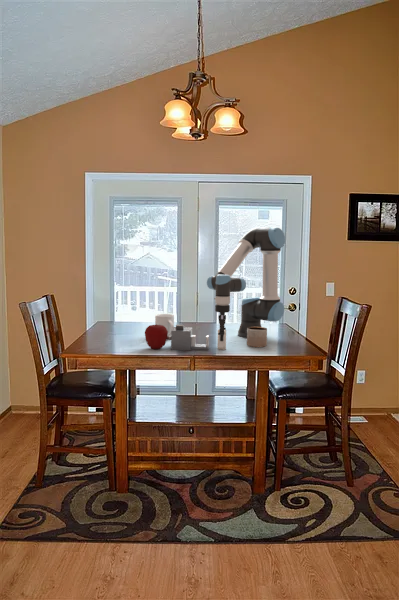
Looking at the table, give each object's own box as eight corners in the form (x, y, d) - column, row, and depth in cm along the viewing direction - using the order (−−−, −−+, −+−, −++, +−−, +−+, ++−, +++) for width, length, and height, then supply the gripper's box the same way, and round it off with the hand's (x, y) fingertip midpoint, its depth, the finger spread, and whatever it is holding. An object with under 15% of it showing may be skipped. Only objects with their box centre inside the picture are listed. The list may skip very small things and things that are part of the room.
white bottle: (225, 348, 253) (226, 325, 252) (225, 349, 249) (226, 327, 247) (217, 347, 253) (217, 325, 252) (217, 349, 249) (217, 326, 248)
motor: (208, 346, 257) (209, 324, 256) (208, 350, 246) (208, 327, 244) (168, 344, 259) (168, 323, 257) (165, 349, 247) (165, 326, 245)
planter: (261, 348, 254) (262, 330, 252) (243, 346, 259) (243, 328, 258) (269, 345, 263) (270, 327, 262) (252, 342, 268) (252, 325, 267)
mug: (180, 339, 276) (181, 316, 274) (164, 340, 270) (164, 318, 268) (168, 334, 288) (168, 313, 287) (151, 336, 282) (151, 314, 280)
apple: (148, 351, 241) (148, 325, 240) (142, 347, 252) (141, 322, 250) (171, 349, 246) (171, 324, 245) (163, 345, 257) (163, 321, 255)
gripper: (215, 301, 261) (215, 339, 263) (214, 307, 236) (213, 349, 239) (229, 301, 261) (228, 340, 263) (229, 307, 236) (228, 349, 238)
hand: (221, 344), depth 251 cm, fingers open, 13 cm apart
